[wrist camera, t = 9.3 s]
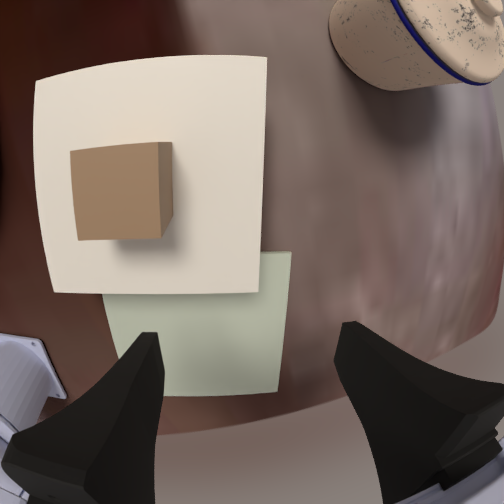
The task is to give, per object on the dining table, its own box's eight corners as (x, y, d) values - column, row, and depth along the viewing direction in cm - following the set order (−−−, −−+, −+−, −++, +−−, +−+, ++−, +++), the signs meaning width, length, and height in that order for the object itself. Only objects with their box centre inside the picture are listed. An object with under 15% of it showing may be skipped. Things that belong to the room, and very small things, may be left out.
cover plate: (59, 285, 15) (27, 324, 11) (43, 83, 11) (-3, 72, 7) (256, 285, 17) (269, 330, 13) (264, 61, 12) (283, 33, 8)
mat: (131, 391, 24) (130, 394, 24) (96, 255, 19) (95, 257, 19) (276, 388, 26) (277, 391, 26) (290, 251, 21) (291, 253, 21)
